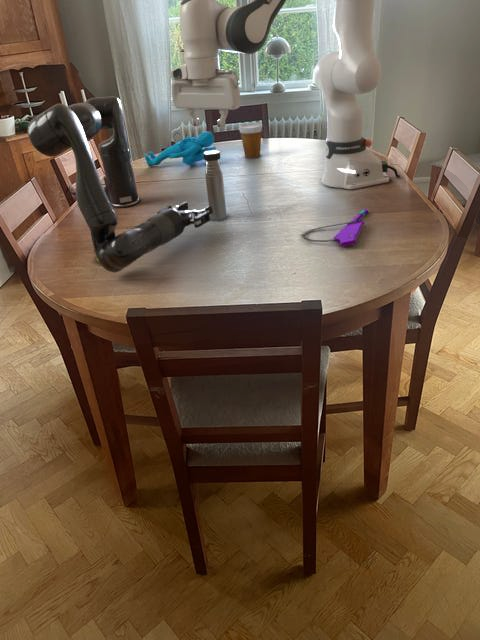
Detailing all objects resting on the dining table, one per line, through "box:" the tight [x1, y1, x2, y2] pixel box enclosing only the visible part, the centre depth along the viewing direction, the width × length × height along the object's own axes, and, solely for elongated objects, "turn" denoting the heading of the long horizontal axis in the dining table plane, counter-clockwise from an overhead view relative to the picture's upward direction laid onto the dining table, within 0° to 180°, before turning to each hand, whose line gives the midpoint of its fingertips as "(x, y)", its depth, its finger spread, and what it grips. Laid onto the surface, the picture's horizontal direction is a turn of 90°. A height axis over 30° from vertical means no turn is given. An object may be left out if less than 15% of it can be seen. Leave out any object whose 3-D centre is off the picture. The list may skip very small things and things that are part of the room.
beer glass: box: [239, 123, 263, 159], centre depth 199 cm, size 10×10×12 cm
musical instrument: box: [301, 208, 369, 248], centre depth 130 cm, size 24×2×20 cm
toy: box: [144, 131, 217, 168], centre depth 197 cm, size 17×11×30 cm
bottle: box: [204, 160, 228, 221], centre depth 140 cm, size 5×5×19 cm
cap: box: [204, 149, 221, 162], centre depth 135 cm, size 5×5×2 cm
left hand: (199, 207), depth 136 cm, fingers open, 8 cm apart
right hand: (208, 126), depth 131 cm, fingers open, 7 cm apart
